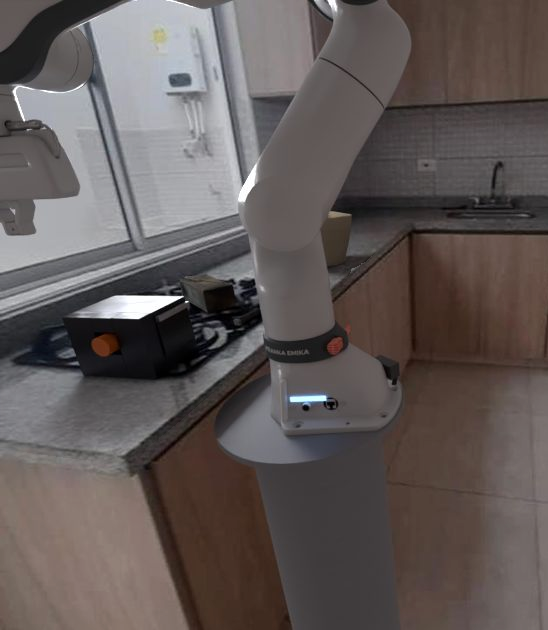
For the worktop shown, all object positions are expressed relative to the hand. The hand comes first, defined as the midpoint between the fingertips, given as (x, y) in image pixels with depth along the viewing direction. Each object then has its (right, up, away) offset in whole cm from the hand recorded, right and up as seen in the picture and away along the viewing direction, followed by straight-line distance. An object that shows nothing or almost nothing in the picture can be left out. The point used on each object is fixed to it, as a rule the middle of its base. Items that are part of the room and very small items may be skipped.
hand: (22, 234), depth 59 cm
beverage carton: (-4, -8, +61) cm, 62 cm away
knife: (+14, -10, +52) cm, 55 cm away
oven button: (-3, -18, +21) cm, 27 cm away
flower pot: (+19, +7, +95) cm, 97 cm away
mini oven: (-1, -20, +28) cm, 35 cm away
